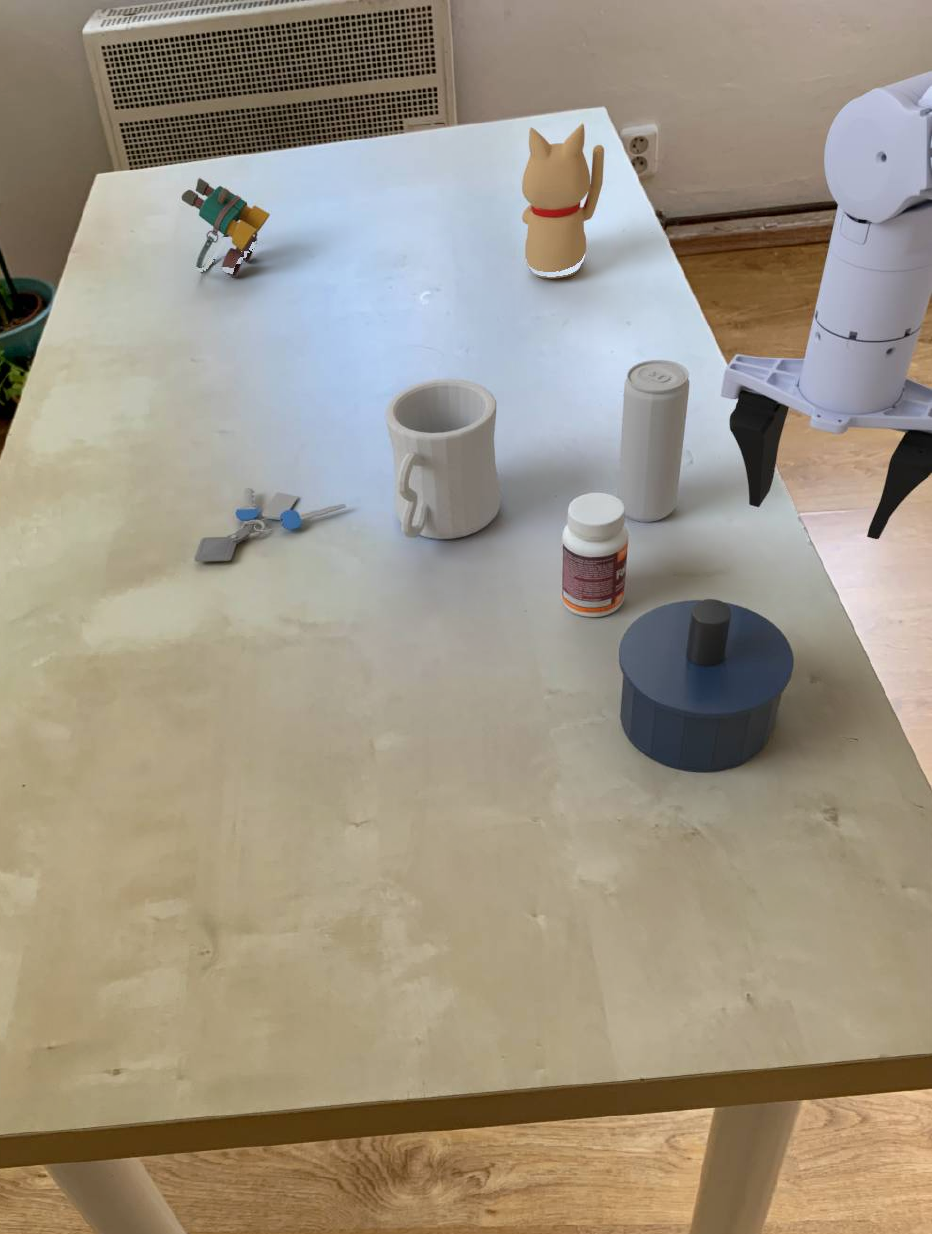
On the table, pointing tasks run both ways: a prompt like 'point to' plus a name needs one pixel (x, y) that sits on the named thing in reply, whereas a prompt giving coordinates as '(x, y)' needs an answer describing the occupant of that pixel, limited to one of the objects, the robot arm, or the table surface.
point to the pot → (694, 734)
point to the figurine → (559, 200)
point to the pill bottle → (594, 555)
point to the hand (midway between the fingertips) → (816, 513)
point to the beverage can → (652, 438)
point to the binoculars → (227, 221)
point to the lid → (706, 659)
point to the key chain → (276, 510)
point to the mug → (444, 458)
